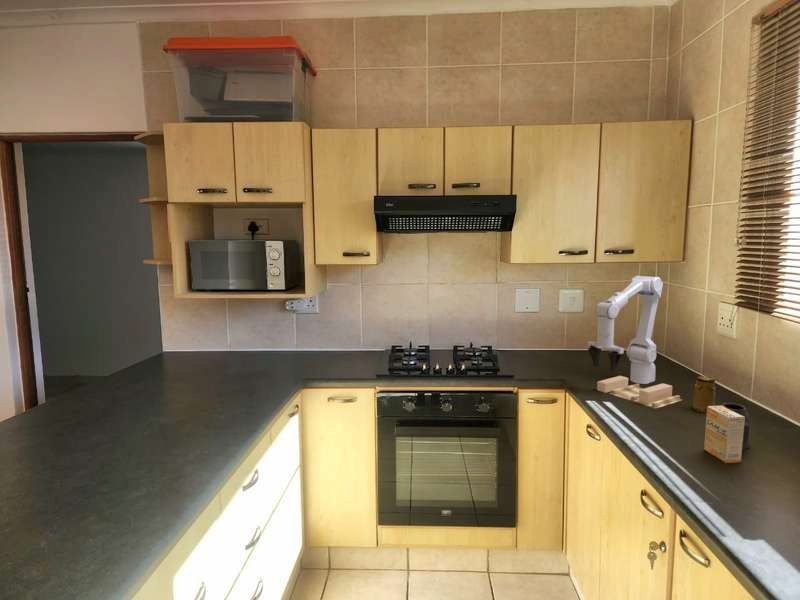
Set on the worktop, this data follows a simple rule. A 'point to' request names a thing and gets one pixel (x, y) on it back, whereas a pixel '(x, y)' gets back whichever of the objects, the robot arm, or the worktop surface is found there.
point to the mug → (743, 412)
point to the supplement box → (724, 433)
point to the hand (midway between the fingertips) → (604, 368)
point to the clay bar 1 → (612, 384)
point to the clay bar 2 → (655, 393)
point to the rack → (633, 395)
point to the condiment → (704, 393)
